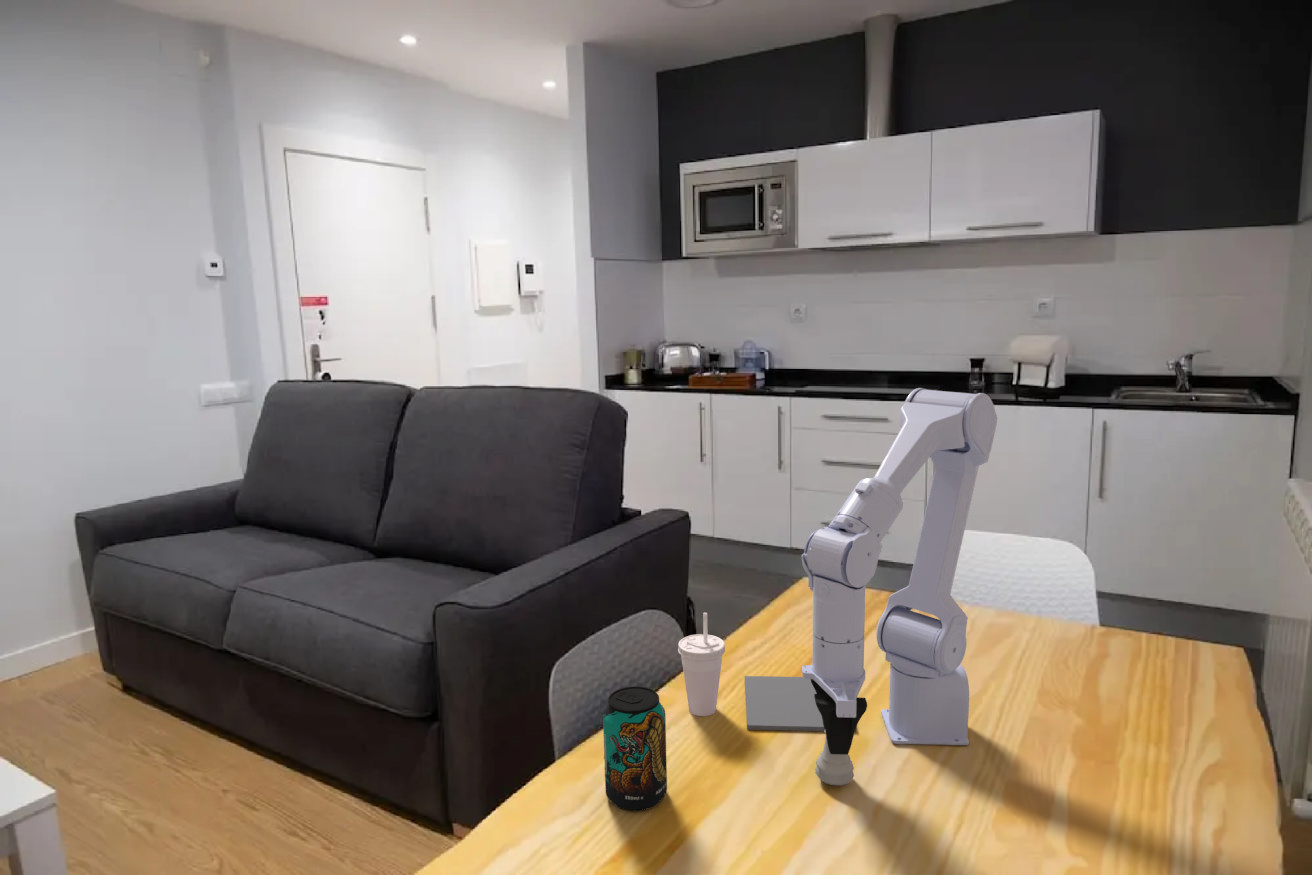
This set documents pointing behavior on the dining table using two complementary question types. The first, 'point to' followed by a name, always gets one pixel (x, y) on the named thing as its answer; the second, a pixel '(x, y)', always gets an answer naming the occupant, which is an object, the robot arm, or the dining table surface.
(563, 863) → the dining table surface
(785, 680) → the rubber mat
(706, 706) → the smoothie
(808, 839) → the dining table surface
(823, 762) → the rook chess piece
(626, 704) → the beverage can
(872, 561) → the robot arm
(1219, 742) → the dining table surface
